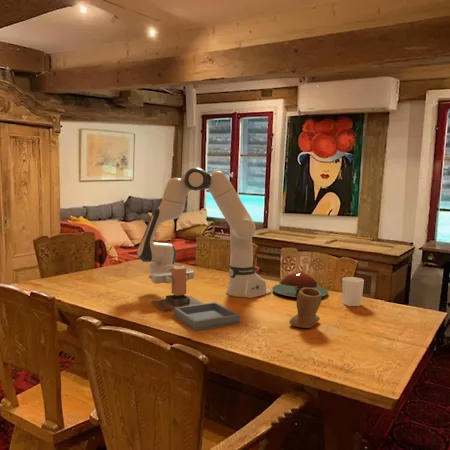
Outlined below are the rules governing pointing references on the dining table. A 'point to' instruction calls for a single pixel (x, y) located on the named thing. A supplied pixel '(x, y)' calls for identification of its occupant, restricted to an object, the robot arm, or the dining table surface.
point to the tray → (206, 316)
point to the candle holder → (352, 291)
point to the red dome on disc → (297, 285)
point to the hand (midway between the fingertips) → (179, 280)
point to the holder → (175, 302)
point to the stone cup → (307, 308)
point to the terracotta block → (179, 280)
